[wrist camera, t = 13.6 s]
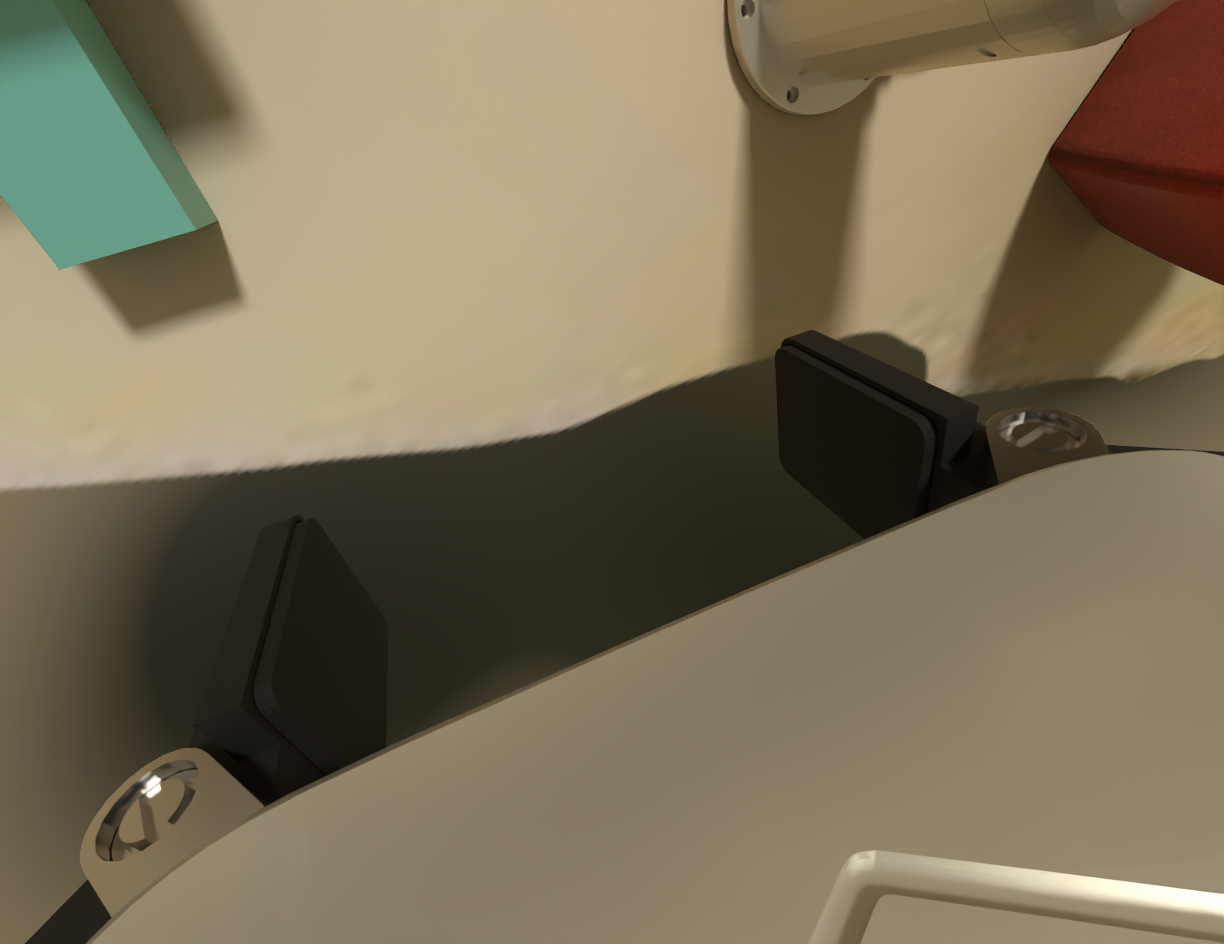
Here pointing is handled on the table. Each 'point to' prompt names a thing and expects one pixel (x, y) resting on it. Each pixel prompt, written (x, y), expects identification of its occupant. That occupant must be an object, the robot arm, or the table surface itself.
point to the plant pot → (1157, 139)
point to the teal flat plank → (84, 140)
